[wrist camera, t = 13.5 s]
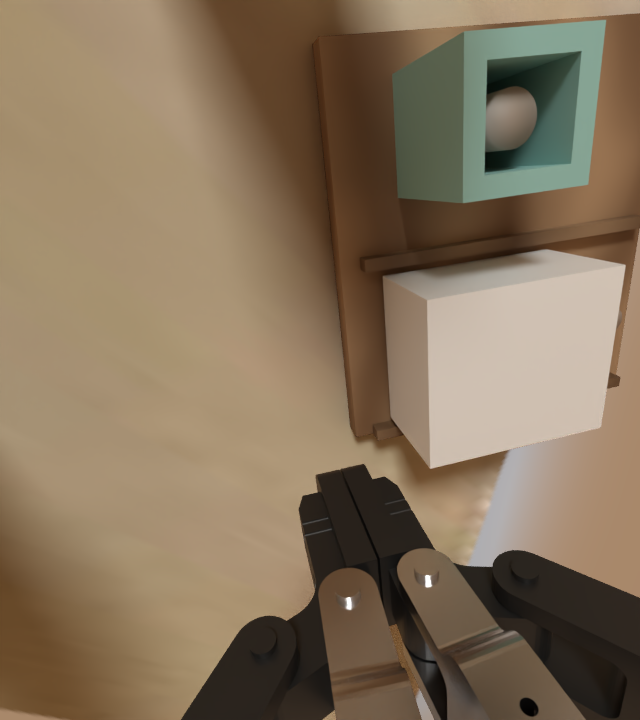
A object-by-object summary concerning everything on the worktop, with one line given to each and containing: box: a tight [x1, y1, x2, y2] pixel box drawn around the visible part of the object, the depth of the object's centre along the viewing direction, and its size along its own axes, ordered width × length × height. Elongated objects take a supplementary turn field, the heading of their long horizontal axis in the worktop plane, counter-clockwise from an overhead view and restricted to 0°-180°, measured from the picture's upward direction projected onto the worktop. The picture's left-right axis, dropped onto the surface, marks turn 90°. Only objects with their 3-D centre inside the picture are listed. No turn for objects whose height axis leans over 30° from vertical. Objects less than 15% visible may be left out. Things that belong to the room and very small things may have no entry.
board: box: [313, 14, 640, 441], centre depth 21 cm, size 17×19×6 cm
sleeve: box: [392, 20, 606, 203], centre depth 18 cm, size 5×5×6 cm
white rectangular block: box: [383, 249, 626, 469], centre depth 22 cm, size 9×8×5 cm
